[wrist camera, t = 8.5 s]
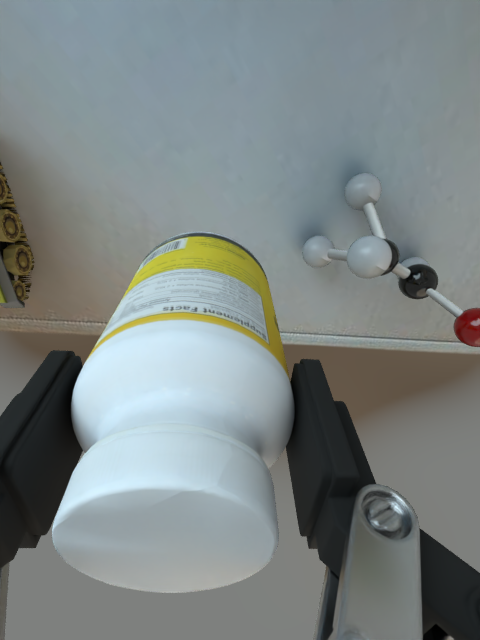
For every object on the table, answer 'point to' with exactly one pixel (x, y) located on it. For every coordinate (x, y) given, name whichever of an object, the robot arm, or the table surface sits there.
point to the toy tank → (12, 253)
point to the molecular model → (388, 259)
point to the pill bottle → (180, 426)
